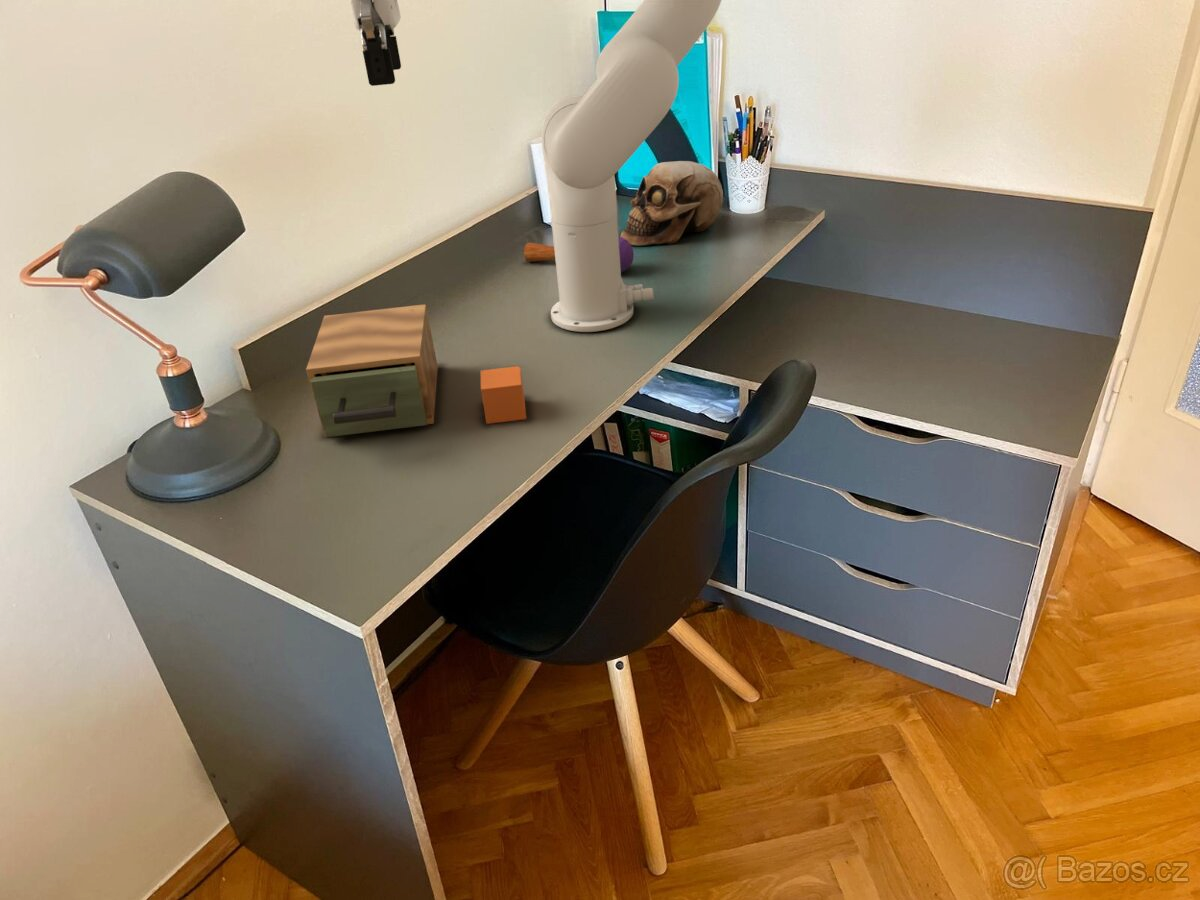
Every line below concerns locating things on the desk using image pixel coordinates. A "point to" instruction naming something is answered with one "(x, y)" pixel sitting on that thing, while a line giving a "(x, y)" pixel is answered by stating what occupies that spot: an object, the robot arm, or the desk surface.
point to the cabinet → (378, 346)
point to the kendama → (547, 253)
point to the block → (503, 395)
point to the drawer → (369, 399)
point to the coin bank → (673, 203)
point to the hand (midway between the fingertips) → (386, 76)
